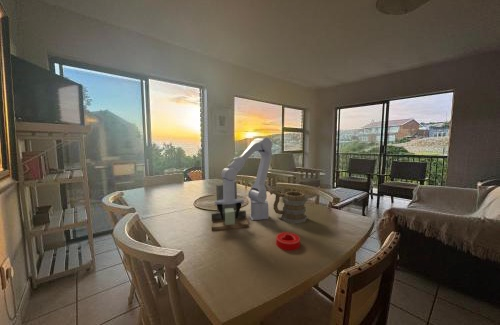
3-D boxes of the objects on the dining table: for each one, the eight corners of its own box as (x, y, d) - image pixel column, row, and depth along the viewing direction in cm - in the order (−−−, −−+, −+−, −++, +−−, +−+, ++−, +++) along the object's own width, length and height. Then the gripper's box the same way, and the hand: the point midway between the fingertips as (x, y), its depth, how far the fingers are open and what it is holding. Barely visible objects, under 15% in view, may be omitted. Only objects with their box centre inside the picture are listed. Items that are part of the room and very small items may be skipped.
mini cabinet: (233, 218, 106) (233, 207, 106) (235, 224, 99) (234, 213, 98) (224, 219, 106) (224, 208, 105) (225, 225, 98) (225, 213, 97)
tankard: (307, 216, 113) (308, 190, 111) (303, 225, 101) (304, 196, 100) (273, 211, 121) (273, 187, 120) (266, 219, 110) (266, 192, 108)
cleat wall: (245, 219, 110) (245, 210, 109) (248, 226, 100) (248, 217, 99) (211, 222, 106) (211, 212, 106) (211, 230, 97) (211, 220, 96)
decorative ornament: (299, 252, 77) (299, 244, 77) (274, 249, 80) (274, 241, 80) (300, 240, 86) (300, 233, 86) (278, 237, 89) (278, 230, 89)
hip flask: (220, 216, 115) (219, 181, 113) (215, 214, 117) (213, 180, 115) (238, 208, 127) (237, 177, 125) (233, 207, 130) (232, 176, 128)
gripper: (214, 194, 96) (215, 222, 98) (244, 193, 99) (244, 219, 100) (214, 191, 103) (215, 216, 105) (242, 189, 106) (242, 214, 107)
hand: (229, 218), depth 103 cm, fingers open, 7 cm apart
